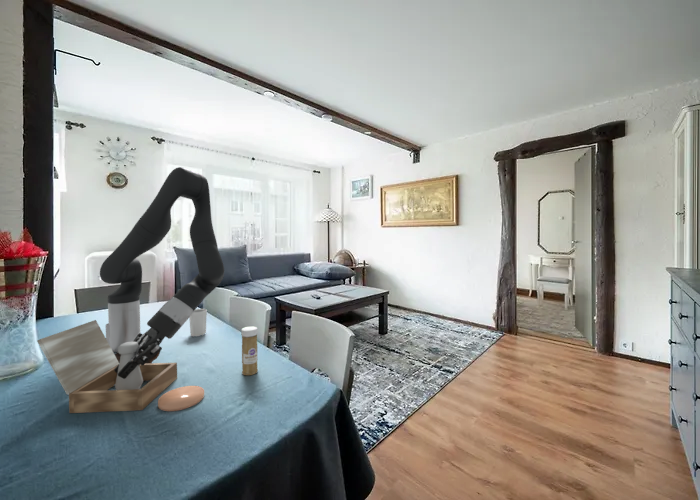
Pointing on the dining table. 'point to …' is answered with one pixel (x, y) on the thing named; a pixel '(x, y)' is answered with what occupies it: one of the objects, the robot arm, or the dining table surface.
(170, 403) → the terracotta saucer
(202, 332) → the drinking glass
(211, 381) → the dining table surface
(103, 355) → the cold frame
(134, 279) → the robot arm
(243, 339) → the sprinkles bottle
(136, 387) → the salt shaker
